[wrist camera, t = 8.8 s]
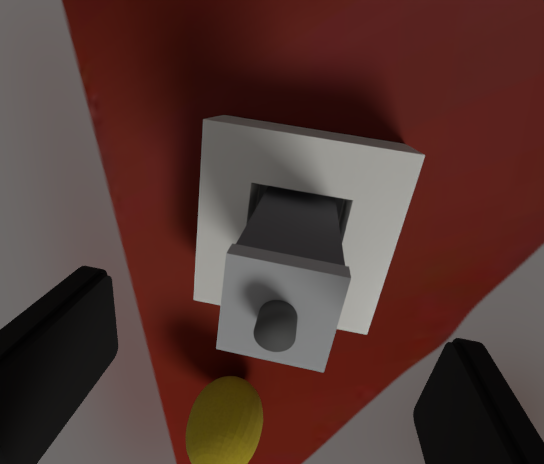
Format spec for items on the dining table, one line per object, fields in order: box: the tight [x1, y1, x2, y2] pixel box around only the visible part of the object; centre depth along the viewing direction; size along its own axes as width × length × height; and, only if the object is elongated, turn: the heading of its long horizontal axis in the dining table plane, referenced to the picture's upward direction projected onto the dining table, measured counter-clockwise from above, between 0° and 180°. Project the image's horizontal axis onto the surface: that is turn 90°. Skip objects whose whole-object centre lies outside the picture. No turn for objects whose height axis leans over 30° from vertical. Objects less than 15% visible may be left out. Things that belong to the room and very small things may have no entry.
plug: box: [216, 186, 351, 373], centre depth 16 cm, size 4×4×11 cm
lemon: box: [186, 376, 263, 464], centre depth 25 cm, size 6×6×8 cm
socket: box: [194, 115, 425, 335], centre depth 20 cm, size 11×11×4 cm
